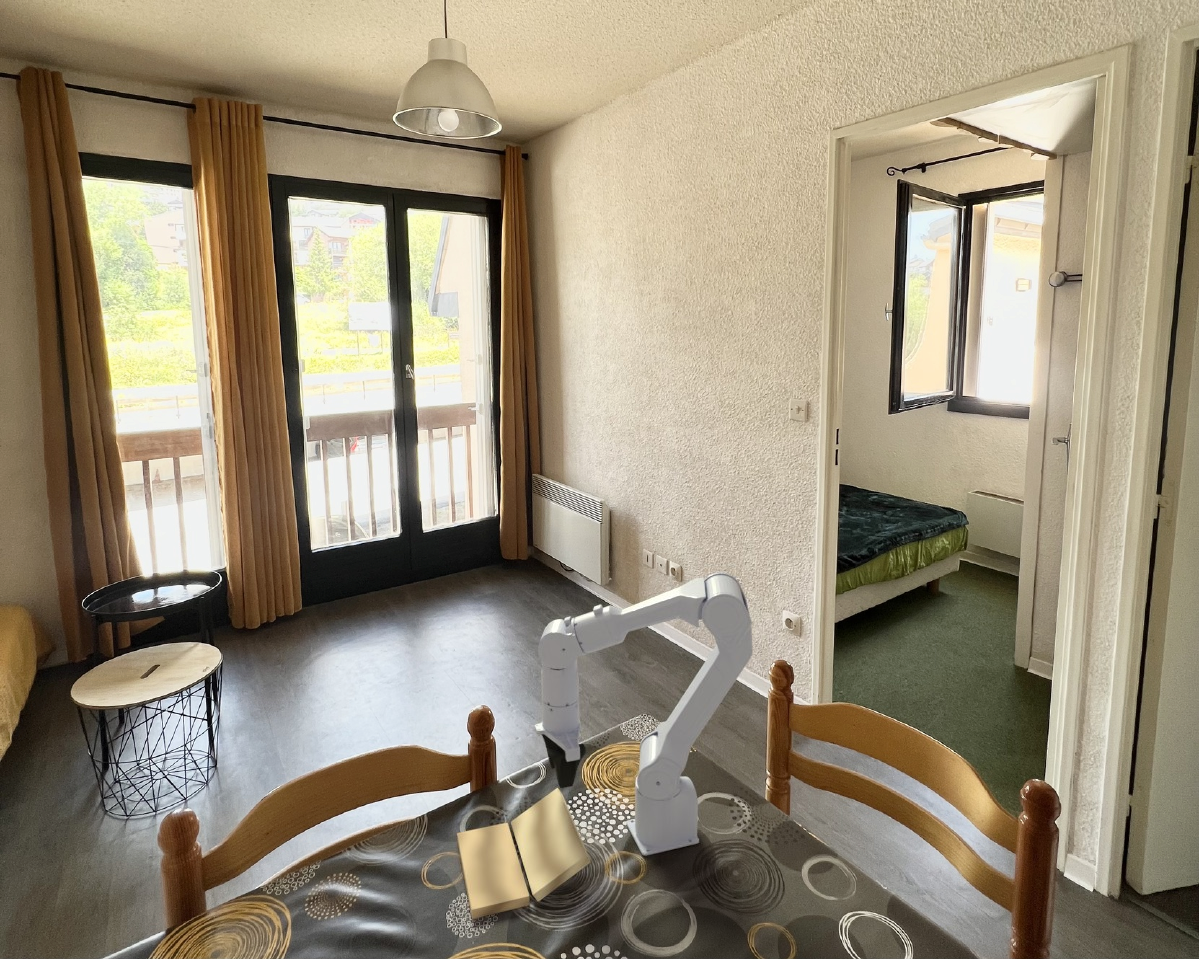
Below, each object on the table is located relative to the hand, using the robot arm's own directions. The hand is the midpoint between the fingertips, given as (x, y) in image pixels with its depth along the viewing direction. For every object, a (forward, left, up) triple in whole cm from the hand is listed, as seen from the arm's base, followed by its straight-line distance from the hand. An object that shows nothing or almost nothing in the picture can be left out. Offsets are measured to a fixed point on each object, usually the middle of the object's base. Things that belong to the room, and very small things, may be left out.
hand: (561, 775), depth 118 cm
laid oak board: (+13, +6, -9) cm, 17 cm away
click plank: (+3, +6, -7) cm, 10 cm away
